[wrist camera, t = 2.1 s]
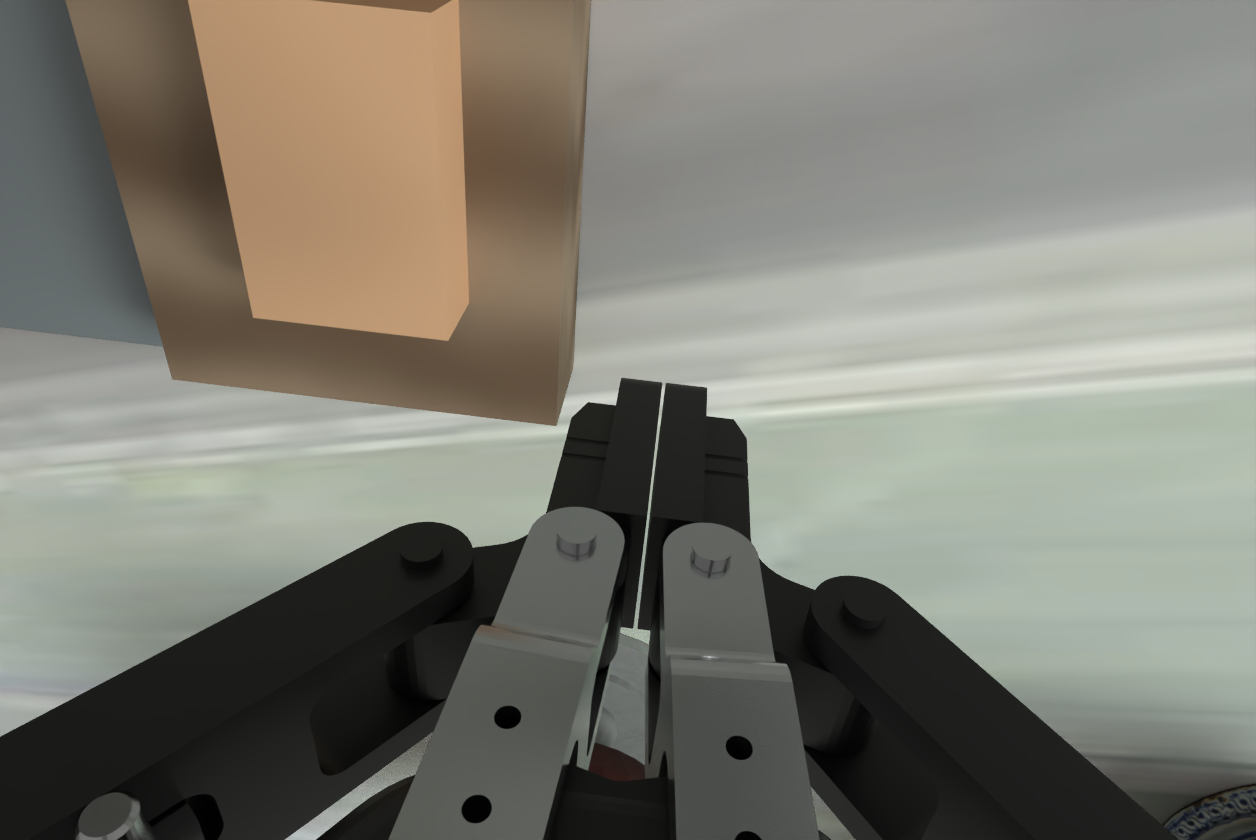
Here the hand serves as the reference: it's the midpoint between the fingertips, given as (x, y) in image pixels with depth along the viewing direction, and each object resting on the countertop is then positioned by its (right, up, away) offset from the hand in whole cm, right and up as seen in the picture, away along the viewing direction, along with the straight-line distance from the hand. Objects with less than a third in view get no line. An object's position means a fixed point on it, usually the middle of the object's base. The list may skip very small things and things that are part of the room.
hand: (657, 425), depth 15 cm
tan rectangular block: (-8, +7, +9) cm, 14 cm away
